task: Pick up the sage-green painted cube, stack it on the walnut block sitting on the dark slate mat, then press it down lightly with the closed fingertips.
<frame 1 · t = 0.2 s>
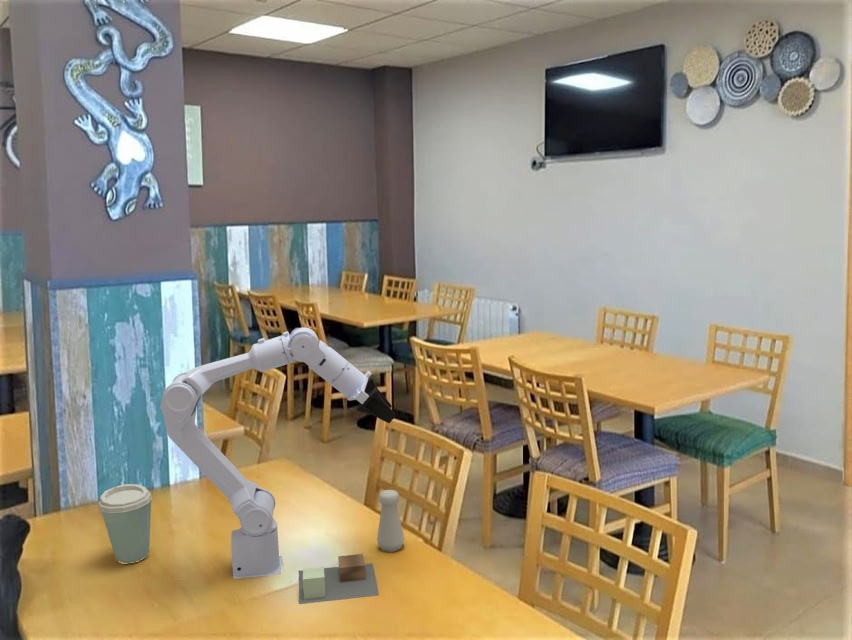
hand: (390, 414, 157), 31 cm above the table, tool tilted 45°, fingers open, 7 cm apart
slate mat: (337, 585, 151), on the table
walnut block: (352, 574, 154), point 1 cm above the table, touching slate mat
sage block: (314, 592, 147), point 1 cm above the table, touching slate mat
salt shaker: (391, 550, 166), on the table
disposable coffee cup: (131, 559, 165), on the table
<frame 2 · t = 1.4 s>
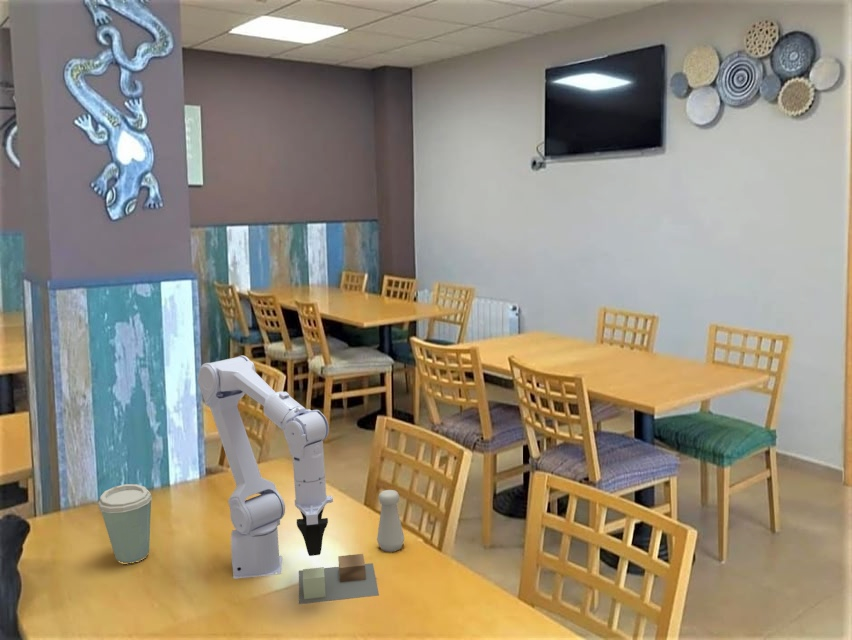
hand: (314, 545, 146), 10 cm above the table, tool pointing down, fingers open, 7 cm apart
nothing on the table moved.
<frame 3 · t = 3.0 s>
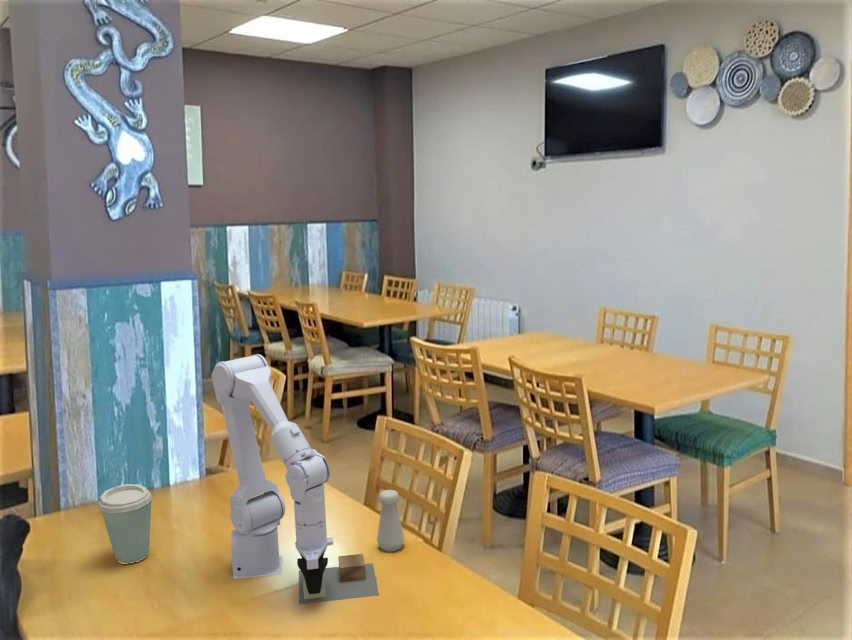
hand: (314, 586, 147), 2 cm above the table, tool pointing down, fingers closed on sage block, 4 cm apart
sage block: (314, 592, 147), point 1 cm above the table, touching gripper, slate mat
everything else where it was.
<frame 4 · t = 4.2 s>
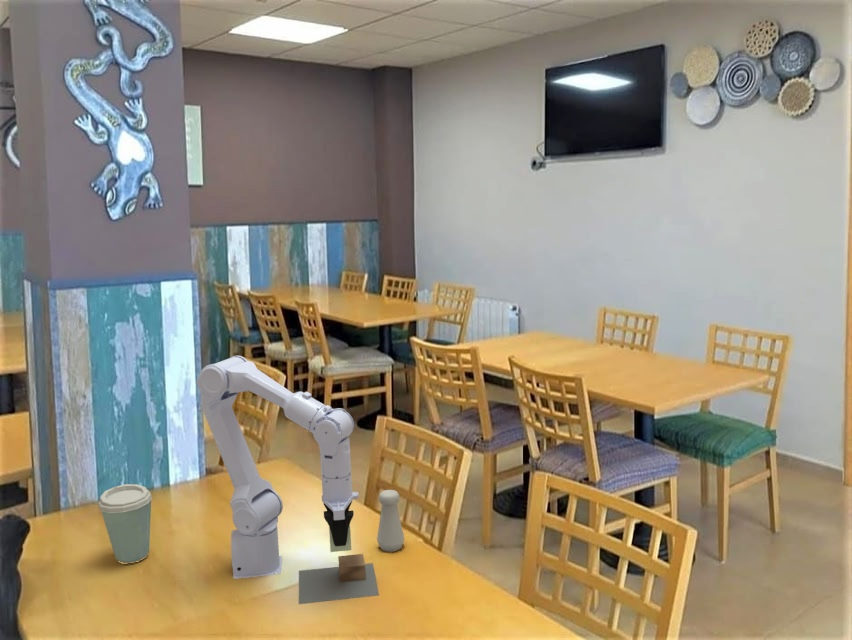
hand: (339, 540, 151), 9 cm above the table, tool pointing down, fingers closed on sage block, 4 cm apart
sage block: (340, 546, 151), point 8 cm above the table, touching gripper
everything else where it was.
when the fingers open (6 cm above the table, at t = 5.4 s): sage block stays where it is, resting on walnut block.
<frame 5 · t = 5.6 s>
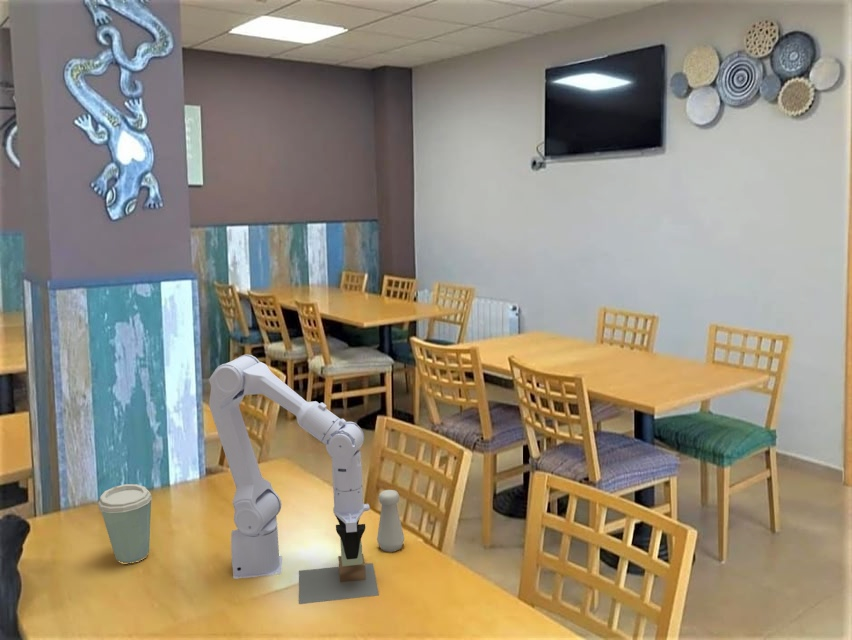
hand: (351, 551, 153), 6 cm above the table, tool pointing down, fingers open, 5 cm apart
walnut block: (352, 574, 154), point 1 cm above the table, touching sage block, slate mat
sage block: (351, 560, 153), point 4 cm above the table, touching walnut block
everything else where it was.
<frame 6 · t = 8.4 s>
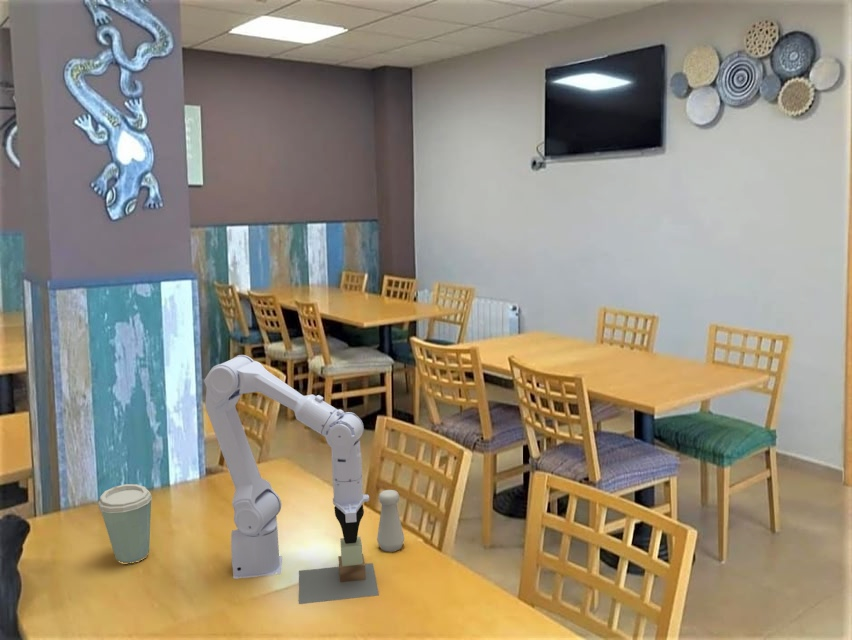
hand: (350, 542, 153), 8 cm above the table, tool pointing down, fingers closed, pressing on sage block
sage block: (351, 560, 153), point 4 cm above the table, touching gripper, walnut block
everything else where it was.
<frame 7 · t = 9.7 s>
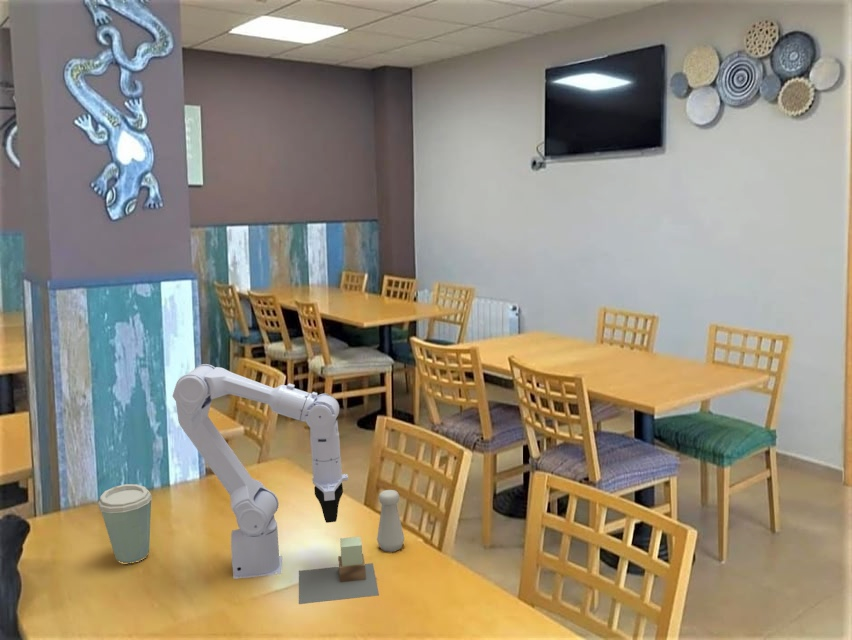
hand: (330, 520, 156), 10 cm above the table, tool pointing down, fingers closed
sage block: (351, 560, 153), point 4 cm above the table, touching walnut block
everything else where it was.
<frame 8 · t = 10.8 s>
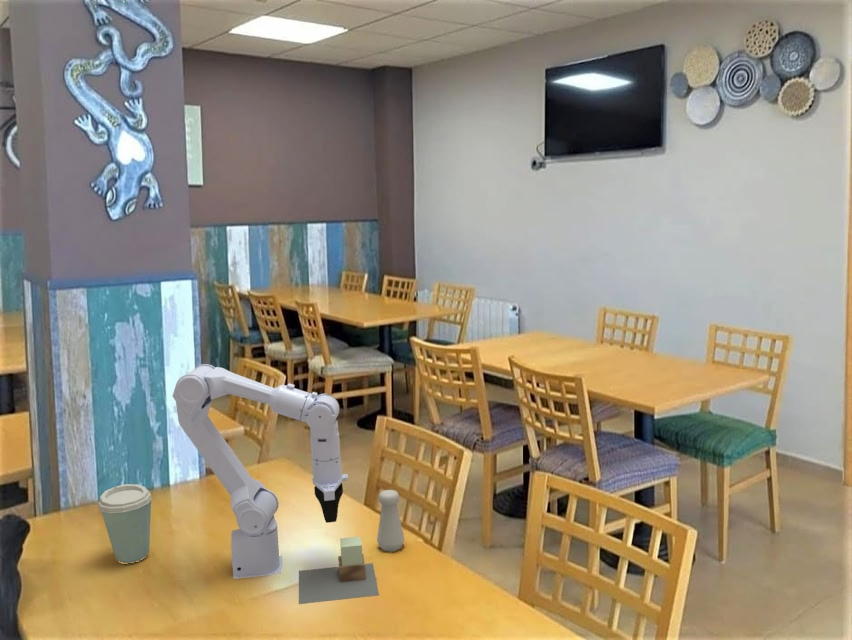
hand: (330, 520, 156), 10 cm above the table, tool pointing down, fingers closed
nothing on the table moved.
at the end: sage block 0.1 cm off-centre on the walnut block, point 3.0 cm above the walnut block's base; sage block tilted 0°; walnut block moved 0.0 cm from its start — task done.
